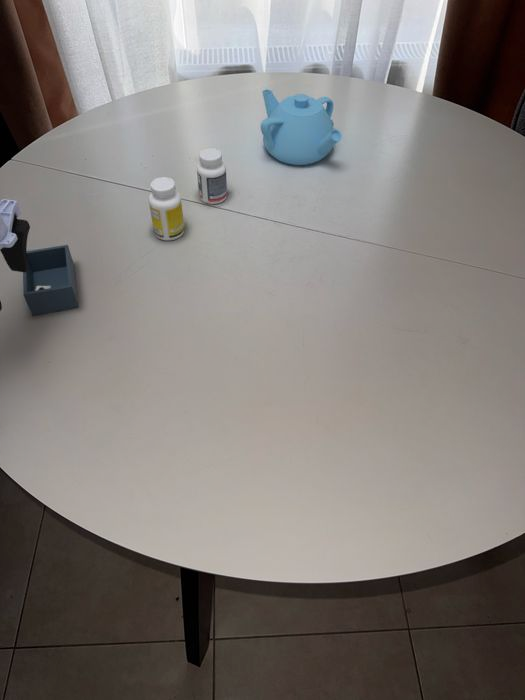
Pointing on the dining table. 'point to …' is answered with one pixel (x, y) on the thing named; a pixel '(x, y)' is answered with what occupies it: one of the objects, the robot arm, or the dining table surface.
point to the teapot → (298, 128)
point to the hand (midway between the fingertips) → (7, 289)
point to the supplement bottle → (166, 209)
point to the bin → (50, 280)
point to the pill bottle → (211, 176)
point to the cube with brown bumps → (42, 287)
